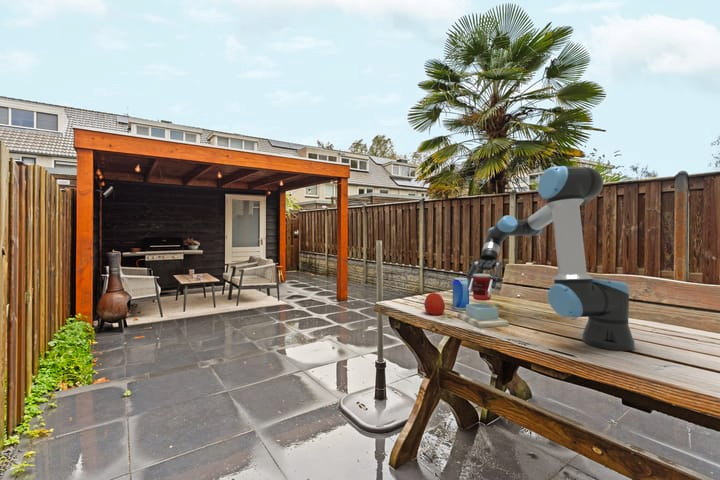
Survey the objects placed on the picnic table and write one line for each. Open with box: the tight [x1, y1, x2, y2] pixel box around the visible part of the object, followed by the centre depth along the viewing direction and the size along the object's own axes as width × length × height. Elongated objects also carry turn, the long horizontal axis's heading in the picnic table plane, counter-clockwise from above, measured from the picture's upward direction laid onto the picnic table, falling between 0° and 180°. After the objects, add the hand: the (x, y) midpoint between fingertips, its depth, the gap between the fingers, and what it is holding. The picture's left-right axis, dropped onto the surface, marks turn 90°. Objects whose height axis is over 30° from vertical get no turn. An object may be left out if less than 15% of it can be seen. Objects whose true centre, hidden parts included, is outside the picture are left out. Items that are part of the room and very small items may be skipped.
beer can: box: [452, 277, 470, 311], centre depth 177 cm, size 8×8×16 cm
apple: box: [423, 292, 446, 316], centre depth 167 cm, size 10×10×10 cm
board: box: [457, 312, 509, 329], centre depth 152 cm, size 18×14×2 cm
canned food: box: [472, 273, 492, 301], centre depth 152 cm, size 8×8×11 cm
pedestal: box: [465, 303, 500, 321], centre depth 152 cm, size 10×10×5 cm
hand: (479, 292), depth 149 cm, fingers closed on canned food, 8 cm apart
